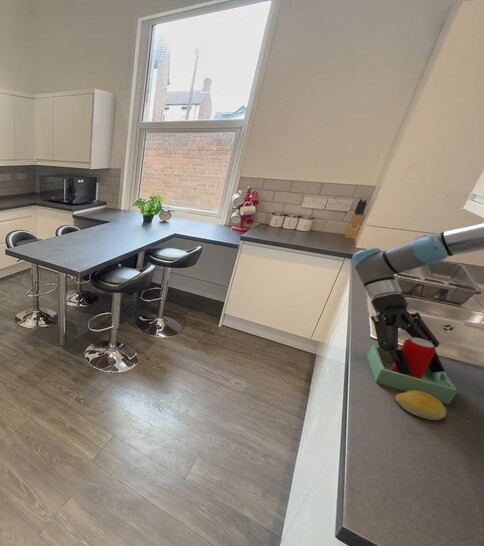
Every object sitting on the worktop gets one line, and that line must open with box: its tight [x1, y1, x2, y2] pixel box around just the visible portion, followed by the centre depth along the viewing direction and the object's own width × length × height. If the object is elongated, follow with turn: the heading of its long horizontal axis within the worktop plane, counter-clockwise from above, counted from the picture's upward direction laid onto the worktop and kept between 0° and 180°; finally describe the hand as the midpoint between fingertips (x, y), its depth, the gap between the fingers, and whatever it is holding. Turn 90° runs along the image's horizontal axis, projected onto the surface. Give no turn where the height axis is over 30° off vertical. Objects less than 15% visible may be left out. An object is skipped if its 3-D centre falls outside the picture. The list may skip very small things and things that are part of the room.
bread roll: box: [394, 390, 447, 421], centre depth 79 cm, size 8×9×4 cm
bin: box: [366, 344, 458, 405], centre depth 90 cm, size 15×15×5 cm
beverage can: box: [391, 337, 437, 379], centre depth 88 cm, size 6×6×12 cm
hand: (422, 373), depth 86 cm, fingers open, 9 cm apart
